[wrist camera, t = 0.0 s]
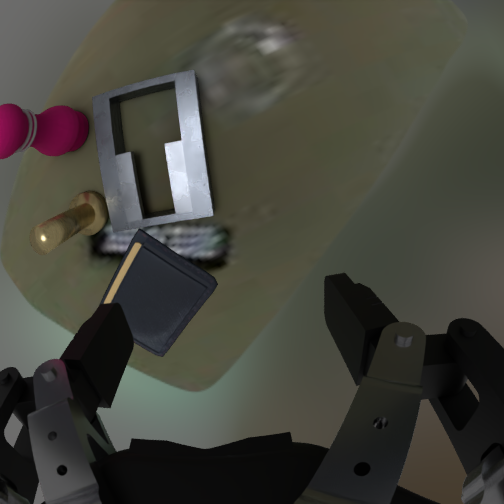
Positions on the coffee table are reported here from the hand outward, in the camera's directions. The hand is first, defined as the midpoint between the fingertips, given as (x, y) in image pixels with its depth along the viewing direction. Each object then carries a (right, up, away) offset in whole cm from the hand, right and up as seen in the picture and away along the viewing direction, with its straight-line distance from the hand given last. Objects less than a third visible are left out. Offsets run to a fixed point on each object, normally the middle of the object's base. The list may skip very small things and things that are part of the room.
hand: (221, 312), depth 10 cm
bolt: (-23, +8, +27) cm, 36 cm away
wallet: (-15, -5, +33) cm, 37 cm away
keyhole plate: (-12, +16, +25) cm, 31 cm away
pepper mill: (-26, +20, +22) cm, 39 cm away
